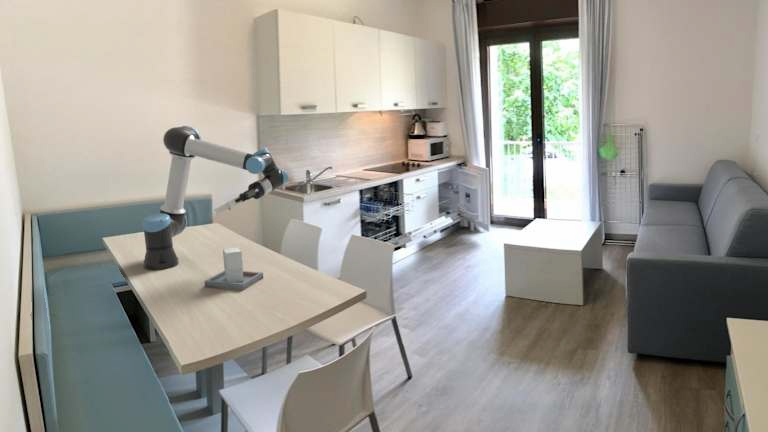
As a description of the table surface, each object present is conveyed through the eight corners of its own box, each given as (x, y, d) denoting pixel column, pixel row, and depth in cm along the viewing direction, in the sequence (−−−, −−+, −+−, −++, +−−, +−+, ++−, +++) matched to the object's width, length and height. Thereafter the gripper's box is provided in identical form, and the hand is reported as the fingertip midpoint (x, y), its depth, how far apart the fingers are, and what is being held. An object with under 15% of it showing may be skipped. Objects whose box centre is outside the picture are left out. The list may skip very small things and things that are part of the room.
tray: (204, 286, 228) (204, 281, 227) (226, 275, 243) (226, 269, 242) (243, 290, 222) (242, 284, 222) (263, 278, 237) (262, 272, 237)
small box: (244, 281, 230) (241, 251, 227) (228, 284, 227) (225, 253, 225) (240, 276, 237) (237, 246, 235) (224, 278, 235) (222, 248, 232)
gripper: (276, 189, 247) (238, 210, 233) (251, 201, 265) (215, 222, 252) (268, 174, 246) (229, 194, 232) (243, 188, 264) (206, 207, 251)
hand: (222, 208), depth 242 cm, fingers open, 13 cm apart
